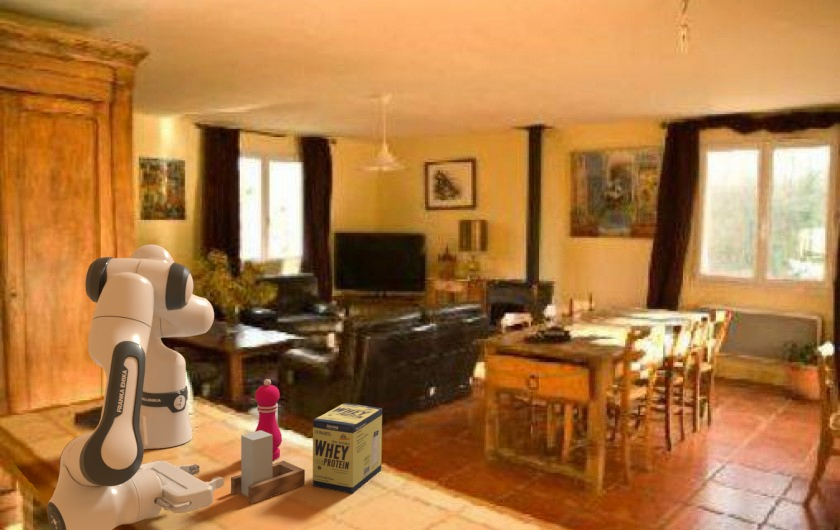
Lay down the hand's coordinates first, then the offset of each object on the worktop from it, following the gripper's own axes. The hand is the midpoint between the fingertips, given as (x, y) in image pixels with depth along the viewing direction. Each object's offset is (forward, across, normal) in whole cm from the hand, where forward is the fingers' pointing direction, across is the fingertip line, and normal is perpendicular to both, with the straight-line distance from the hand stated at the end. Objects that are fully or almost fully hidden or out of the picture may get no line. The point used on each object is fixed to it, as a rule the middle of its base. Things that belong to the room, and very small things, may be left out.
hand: (209, 474), depth 136 cm
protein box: (+31, -8, +8) cm, 33 cm away
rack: (+14, 0, +7) cm, 16 cm away
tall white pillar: (+11, 0, +8) cm, 14 cm away
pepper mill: (+26, +16, +8) cm, 31 cm away
